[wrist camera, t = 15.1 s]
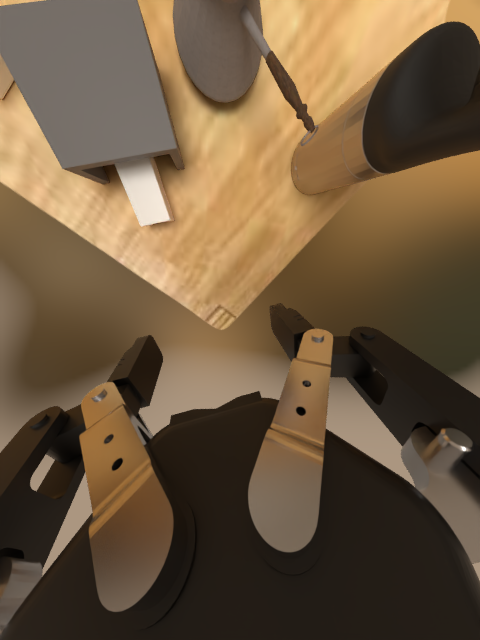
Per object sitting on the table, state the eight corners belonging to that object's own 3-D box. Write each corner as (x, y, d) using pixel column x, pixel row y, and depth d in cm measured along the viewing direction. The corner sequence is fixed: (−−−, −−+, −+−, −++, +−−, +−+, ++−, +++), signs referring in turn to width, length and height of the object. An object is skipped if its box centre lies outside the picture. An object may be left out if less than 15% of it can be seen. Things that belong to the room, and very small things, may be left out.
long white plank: (99, 102, 25) (77, 77, 21) (134, 97, 25) (119, 71, 21) (149, 226, 33) (140, 226, 29) (174, 220, 33) (170, 220, 29)
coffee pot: (157, 29, 23) (95, -222, 10) (225, -51, 21) (257, -490, 8) (246, 192, 33) (273, 173, 20) (297, 148, 31) (362, 96, 18)
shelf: (184, 168, 30) (176, 147, 22) (102, 184, 29) (62, 168, 21) (157, 68, 24) (134, -11, 16) (55, 83, 23) (-25, 8, 15)
